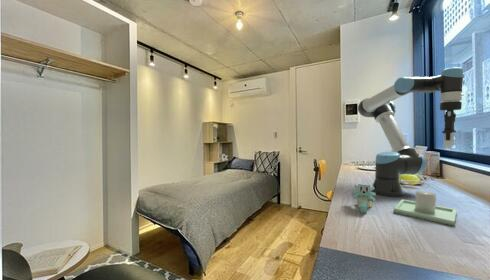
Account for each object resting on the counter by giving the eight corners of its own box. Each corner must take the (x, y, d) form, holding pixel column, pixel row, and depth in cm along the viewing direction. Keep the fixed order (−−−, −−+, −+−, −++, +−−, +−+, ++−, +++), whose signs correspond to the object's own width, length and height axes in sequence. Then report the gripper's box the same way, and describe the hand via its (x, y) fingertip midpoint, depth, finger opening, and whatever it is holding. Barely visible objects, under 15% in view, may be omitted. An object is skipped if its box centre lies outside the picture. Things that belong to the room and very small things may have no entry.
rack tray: (393, 212, 101) (393, 208, 101) (401, 203, 113) (401, 199, 113) (454, 226, 87) (454, 221, 86) (456, 213, 98) (456, 209, 98)
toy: (356, 212, 99) (349, 179, 105) (357, 216, 110) (350, 185, 116) (383, 211, 95) (374, 176, 101) (380, 214, 106) (372, 183, 112)
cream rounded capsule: (413, 211, 100) (414, 193, 99) (416, 206, 105) (417, 190, 104) (434, 215, 95) (435, 196, 94) (436, 210, 100) (436, 193, 99)
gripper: (460, 98, 94) (458, 149, 95) (462, 102, 112) (460, 145, 113) (437, 100, 99) (435, 148, 101) (442, 103, 117) (440, 144, 118)
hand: (448, 146), depth 107 cm, fingers open, 13 cm apart
